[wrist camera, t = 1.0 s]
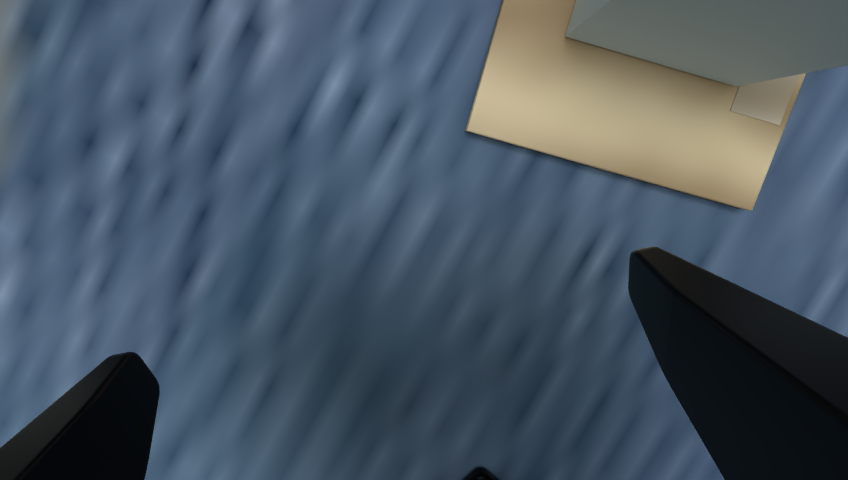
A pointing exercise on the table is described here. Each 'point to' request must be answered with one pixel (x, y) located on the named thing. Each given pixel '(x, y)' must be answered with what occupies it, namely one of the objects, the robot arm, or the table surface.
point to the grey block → (720, 35)
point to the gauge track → (626, 109)
